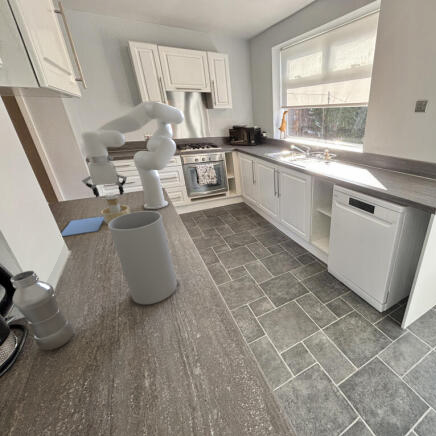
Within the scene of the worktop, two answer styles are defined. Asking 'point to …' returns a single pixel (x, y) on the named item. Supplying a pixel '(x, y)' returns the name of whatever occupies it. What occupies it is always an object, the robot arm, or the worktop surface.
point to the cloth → (83, 226)
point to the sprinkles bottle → (113, 203)
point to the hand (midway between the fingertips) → (110, 195)
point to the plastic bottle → (41, 310)
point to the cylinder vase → (144, 255)
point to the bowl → (108, 216)
